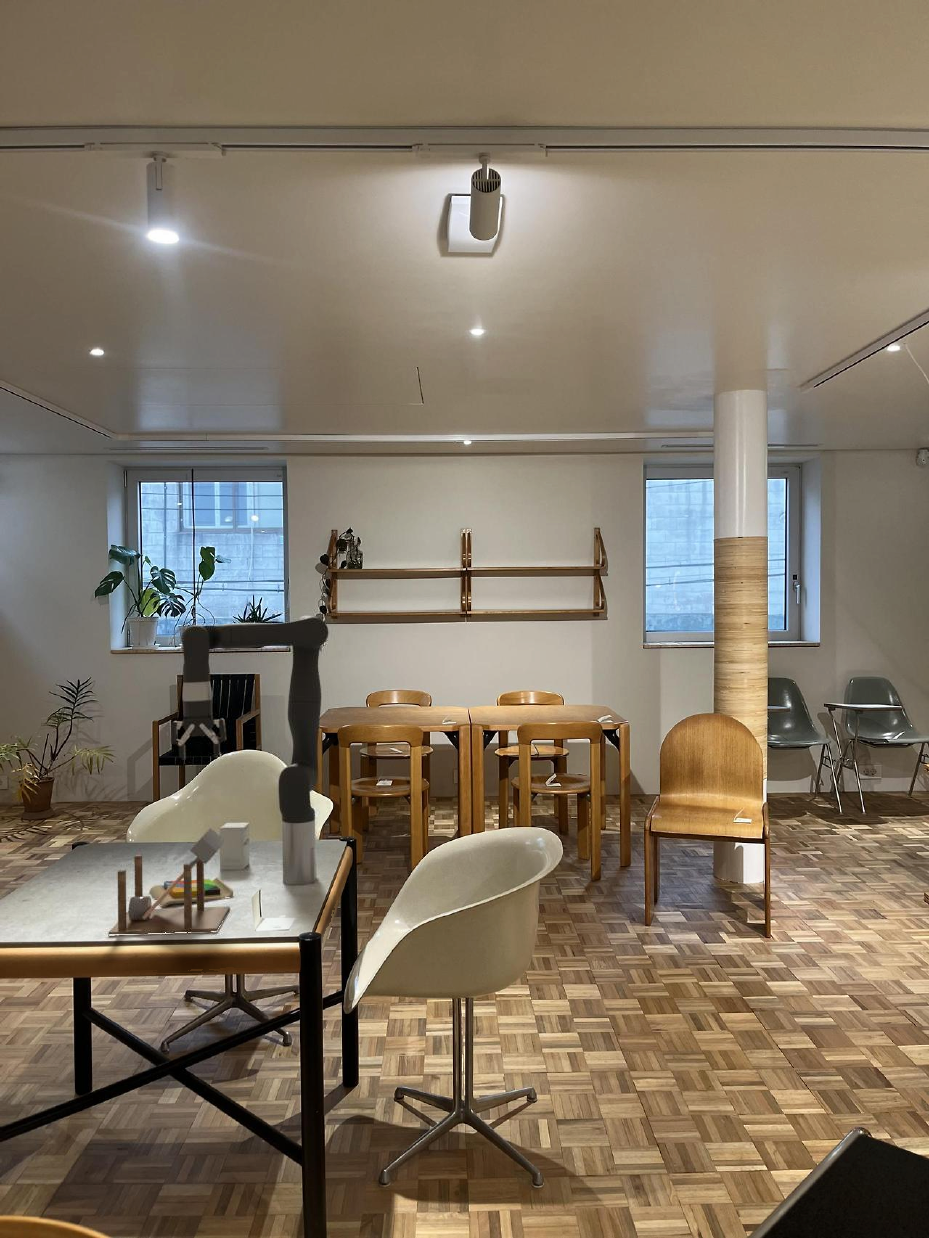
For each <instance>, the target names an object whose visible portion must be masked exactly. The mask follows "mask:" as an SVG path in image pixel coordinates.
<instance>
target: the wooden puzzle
mask: <svg viewBox="0 0 929 1238" xmlns="http://www.w3.org/2000/svg"><path fill="white" fill-rule="evenodd" d="M174 881H175V880H166V881H164V882H163V884H157V885H154V886H152V887H151V888H150V890H149V895H150V894H151V895H152V896H153V897H154V898H155V899H154V898H153V897H152V896H151V895H150V896H151V897H152V898H153V899H154V901H155V900H158V899H159V898H160V896H161V895H162V894H163V893H164V892H165V891H166V890H167V889H168V888H169V887H170V886H171V885H172V883H173V882H174ZM233 896H234V890H233V889H232V888H231V887H230V886H229V885H227V884H226V883H225V882H224V881H222V880H221V879H220V878H219V877H215V878H214V879H213V880H211V878H204V902H209V901H208V900H213V901H218V900H217V899H220V900H222V899H221V898H225V897H231V898H233ZM192 903H197V879H192ZM172 904H173V905H174V904H184V880H181V881H180V882H179V883H178V884H177V885H176V886H175V887H174V888H173V889H172V891H171V892H170V893H169V894H168V895H167V896H166V897H165V898H164V899H163V900H162V901H161V902H160V905H161V906H162V907H165V908H166V907H168V906H169V905H172ZM160 905H159V906H160ZM161 906H160V907H161ZM162 907H161V908H162Z"/></svg>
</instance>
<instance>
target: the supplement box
mask: <svg viewBox="0 0 929 1238" xmlns="http://www.w3.org/2000/svg"><path fill="white" fill-rule="evenodd" d="M219 836H220V837H221V838H222V839H224V840H225V842H224V843H223V845H222V846H221V847H220V849H219V870H225V871H226V870H231V871H232V870H241V871H242V870H243V871H244V869H245V868H246V867H247V866H248V865H249V864H250V822H226V823H225V824H223V825H222V826H221V827H220V828H219Z"/></svg>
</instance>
